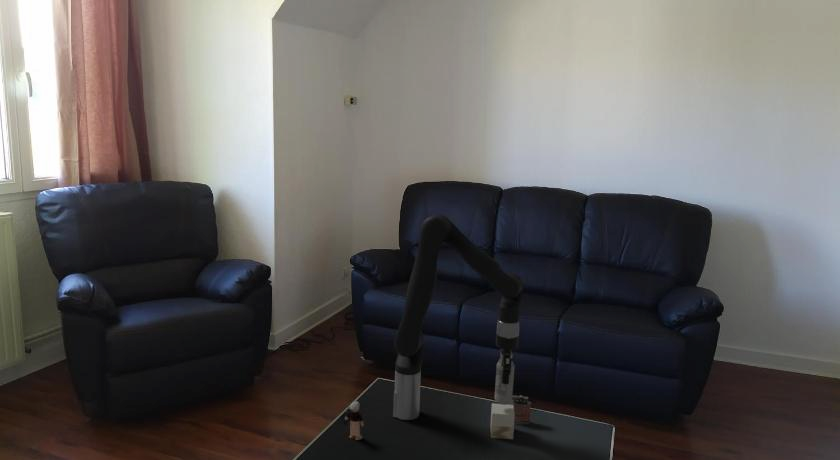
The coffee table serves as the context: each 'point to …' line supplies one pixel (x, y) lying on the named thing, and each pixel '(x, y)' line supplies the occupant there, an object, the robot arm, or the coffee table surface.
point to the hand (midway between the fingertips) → (504, 379)
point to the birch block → (502, 432)
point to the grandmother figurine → (355, 421)
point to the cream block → (502, 415)
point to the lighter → (521, 409)
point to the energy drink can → (503, 385)
